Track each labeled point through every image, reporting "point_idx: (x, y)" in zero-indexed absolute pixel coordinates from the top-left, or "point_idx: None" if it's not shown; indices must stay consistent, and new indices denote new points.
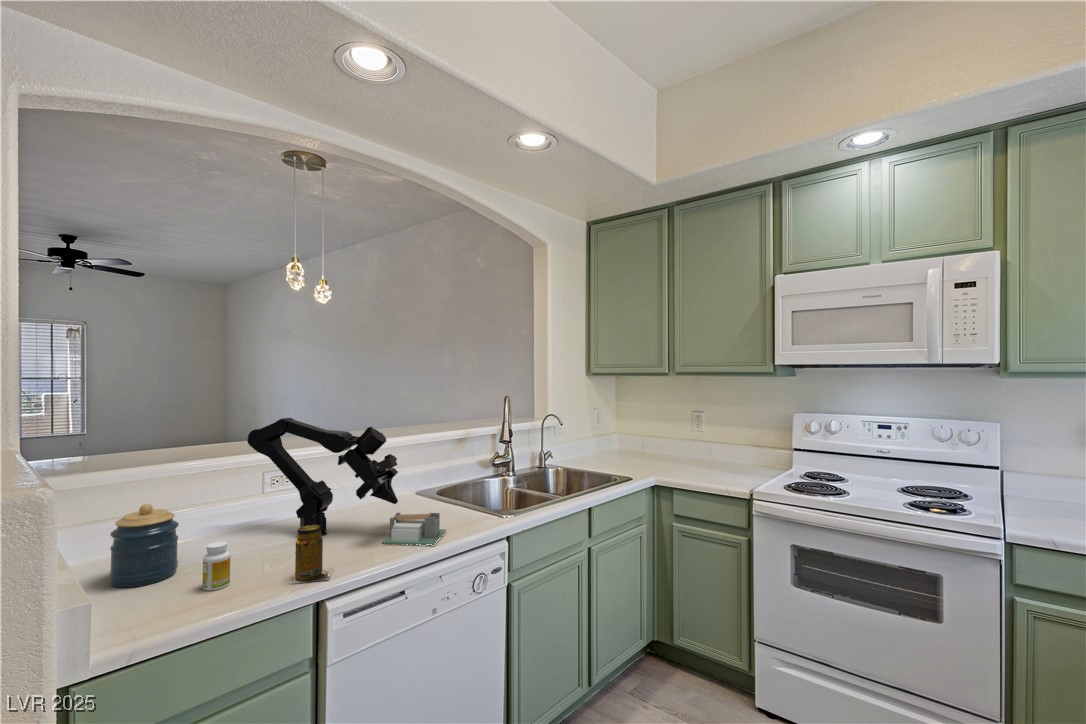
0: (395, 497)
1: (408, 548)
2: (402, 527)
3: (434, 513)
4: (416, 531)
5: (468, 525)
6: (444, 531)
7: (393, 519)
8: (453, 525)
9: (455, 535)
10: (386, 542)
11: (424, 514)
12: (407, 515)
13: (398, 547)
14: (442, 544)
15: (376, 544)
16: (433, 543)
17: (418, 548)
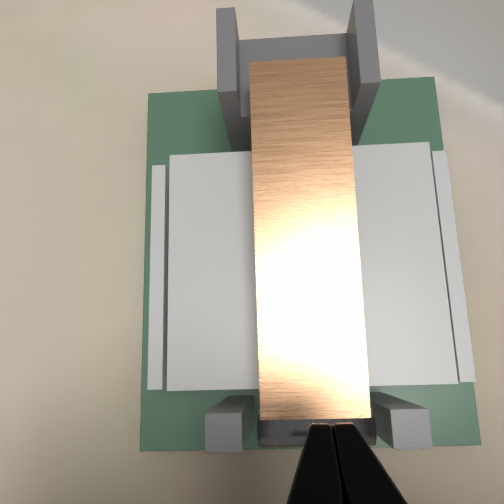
0: (337, 484)
1: (495, 223)
2: (442, 288)
3: (235, 46)
4: (444, 167)
5: (15, 17)
6: (190, 91)
7: (408, 407)
8: (16, 102)
9: (211, 32)
10: (475, 402)
11: (270, 126)
12: (298, 292)
13: (494, 295)
14: (381, 53)
15: (473, 483)
16: (430, 80)
17: (480, 163)
